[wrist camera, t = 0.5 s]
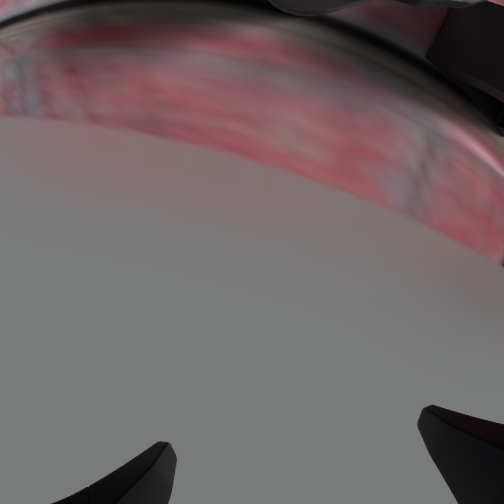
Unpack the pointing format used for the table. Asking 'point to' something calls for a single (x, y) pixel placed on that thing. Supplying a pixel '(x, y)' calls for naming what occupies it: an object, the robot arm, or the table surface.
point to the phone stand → (474, 55)
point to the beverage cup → (316, 3)
